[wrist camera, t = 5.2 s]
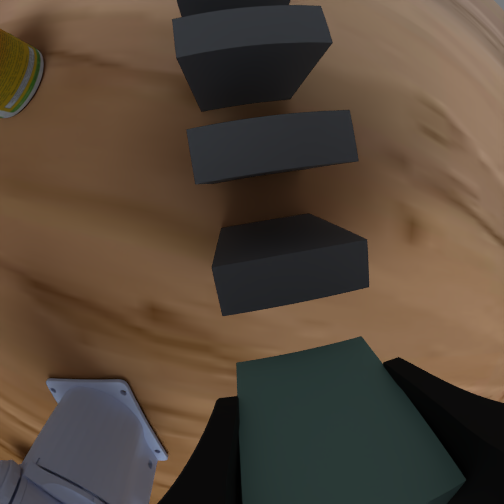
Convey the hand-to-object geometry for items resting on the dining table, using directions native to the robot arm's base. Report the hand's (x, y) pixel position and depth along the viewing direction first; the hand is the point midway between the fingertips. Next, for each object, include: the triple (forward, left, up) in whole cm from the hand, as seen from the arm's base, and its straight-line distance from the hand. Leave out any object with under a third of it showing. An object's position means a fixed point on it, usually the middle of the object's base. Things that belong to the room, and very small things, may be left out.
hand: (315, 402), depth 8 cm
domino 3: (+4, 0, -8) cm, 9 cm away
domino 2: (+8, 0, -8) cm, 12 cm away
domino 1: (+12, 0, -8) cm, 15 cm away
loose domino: (0, 0, -2) cm, 2 cm away
